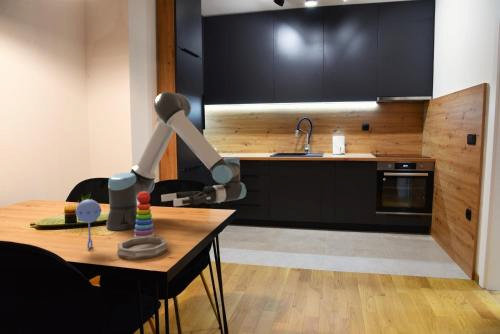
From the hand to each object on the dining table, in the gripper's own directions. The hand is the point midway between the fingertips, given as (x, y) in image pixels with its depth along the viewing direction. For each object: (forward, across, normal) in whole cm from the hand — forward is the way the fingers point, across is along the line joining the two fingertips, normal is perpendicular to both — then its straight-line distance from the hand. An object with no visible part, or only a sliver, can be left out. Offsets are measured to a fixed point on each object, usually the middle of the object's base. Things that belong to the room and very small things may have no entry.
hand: (167, 200), depth 152 cm
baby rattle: (+30, 0, -14) cm, 33 cm away
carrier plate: (+16, -16, -14) cm, 26 cm away
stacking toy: (+10, 0, -14) cm, 17 cm away
